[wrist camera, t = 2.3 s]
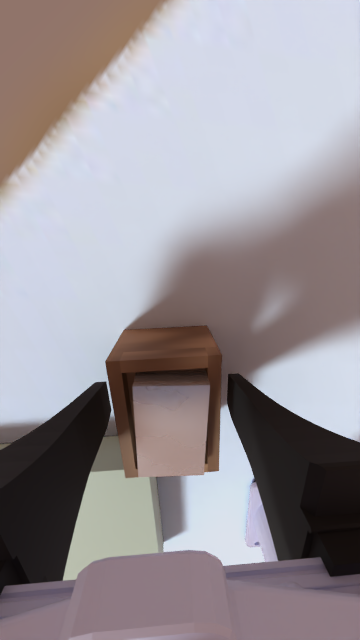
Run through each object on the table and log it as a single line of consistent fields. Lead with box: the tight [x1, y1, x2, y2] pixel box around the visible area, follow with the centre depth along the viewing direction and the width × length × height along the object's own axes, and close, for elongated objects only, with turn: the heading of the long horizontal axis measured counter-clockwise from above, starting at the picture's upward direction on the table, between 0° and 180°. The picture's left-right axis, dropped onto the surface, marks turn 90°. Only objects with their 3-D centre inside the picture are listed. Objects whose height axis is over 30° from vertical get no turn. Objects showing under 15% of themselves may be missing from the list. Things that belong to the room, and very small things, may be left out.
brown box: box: [105, 326, 222, 478], centre depth 12 cm, size 5×7×4 cm
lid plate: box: [132, 368, 210, 477], centre depth 10 cm, size 3×5×2 cm, turn 179°
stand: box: [0, 436, 163, 581], centre depth 16 cm, size 13×13×2 cm
